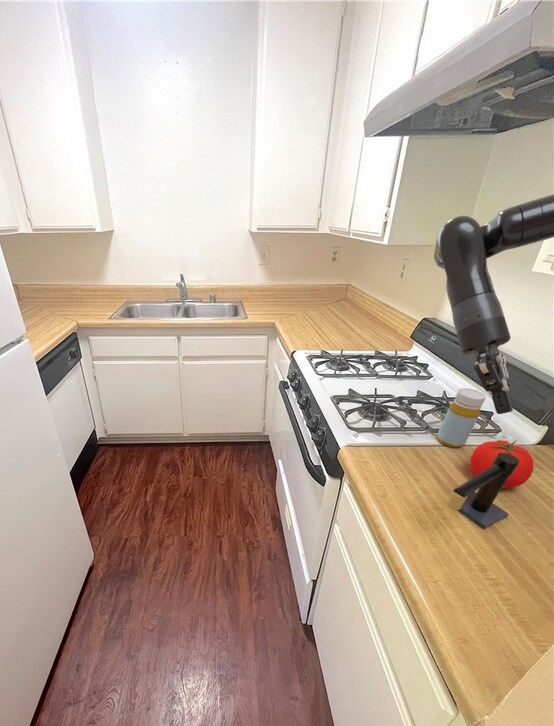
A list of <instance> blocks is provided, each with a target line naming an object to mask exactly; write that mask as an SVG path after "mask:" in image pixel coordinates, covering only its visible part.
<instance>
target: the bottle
mask: <svg viewBox="0 0 554 726" xmlns="http://www.w3.org/2000/svg"><path fill="white" fill-rule="evenodd" d="M486 398H487V396H486V394H485V393H484V392H481V391H479V390H477V389H473V388H465V387H463V388H459V389H458V391H457V393H456V395H455V398H454V400H453V402H451V403H450V405H449V407H448V408H447V411H446V413H445V415H444V419H443V420H442V423H441V425H440V426H439V430H438V432H437V435H436V438H437V440H438V442H439V443H441V444H442V445H444V446H446V447H449V448H454V449H456V448H457V449H458V448H462V447H464V446H465V444H466V443H467V441H468V439H469V437H470V435H471V433H472V431H473V429H474V427H475V425H476V423H477V421H478V420H479V418H480V415H481V408H482V407H483V404H484V402H485V401H486Z"/></svg>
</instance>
